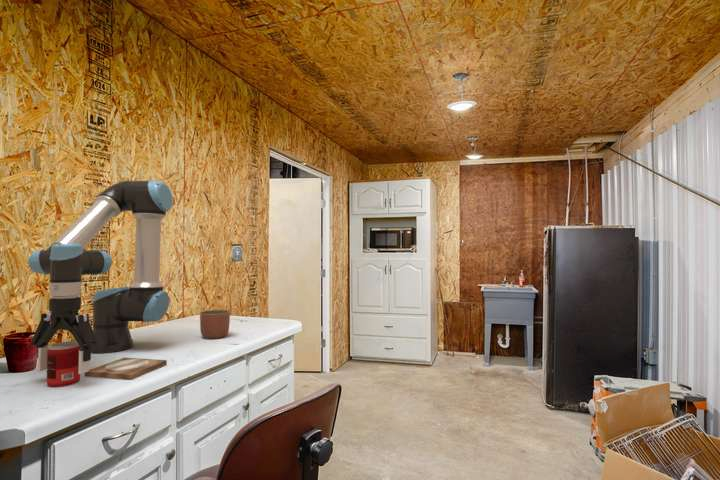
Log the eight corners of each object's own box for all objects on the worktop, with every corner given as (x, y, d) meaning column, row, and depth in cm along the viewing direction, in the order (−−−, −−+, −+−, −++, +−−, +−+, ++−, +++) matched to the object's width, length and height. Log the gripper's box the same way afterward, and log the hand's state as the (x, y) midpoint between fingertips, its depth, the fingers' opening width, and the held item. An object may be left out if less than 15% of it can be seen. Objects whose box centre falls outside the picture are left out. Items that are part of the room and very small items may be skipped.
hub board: (84, 376, 123) (84, 370, 123) (124, 361, 139) (124, 356, 139) (131, 379, 120) (131, 373, 120) (166, 364, 136) (166, 358, 136)
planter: (230, 338, 175) (231, 313, 175) (199, 341, 170) (200, 314, 170) (228, 333, 186) (229, 309, 186) (199, 335, 182) (199, 310, 182)
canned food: (86, 378, 121) (86, 341, 122) (67, 387, 113) (68, 347, 114) (59, 378, 121) (60, 341, 121) (39, 387, 113) (40, 347, 113)
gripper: (16, 297, 116) (14, 372, 116) (91, 299, 112) (89, 377, 111) (41, 294, 124) (39, 365, 123) (113, 296, 119) (111, 370, 118)
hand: (63, 371), depth 117 cm, fingers open, 13 cm apart
